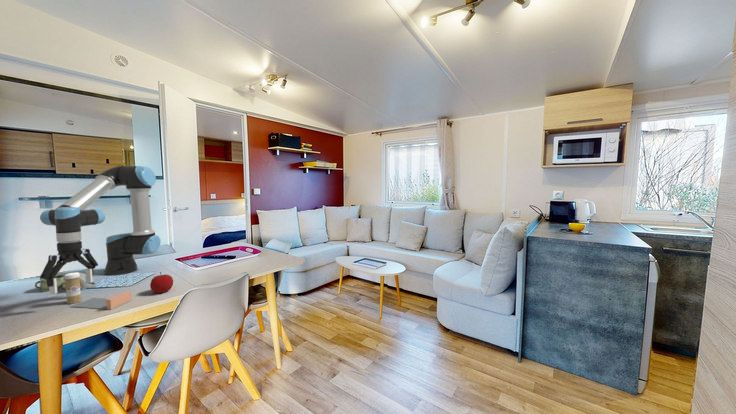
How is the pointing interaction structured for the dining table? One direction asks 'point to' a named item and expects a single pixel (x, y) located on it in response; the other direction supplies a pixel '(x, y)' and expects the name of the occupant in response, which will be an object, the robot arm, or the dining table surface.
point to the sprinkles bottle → (73, 287)
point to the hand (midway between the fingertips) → (72, 287)
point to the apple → (161, 283)
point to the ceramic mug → (84, 282)
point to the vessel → (43, 285)
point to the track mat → (105, 302)
